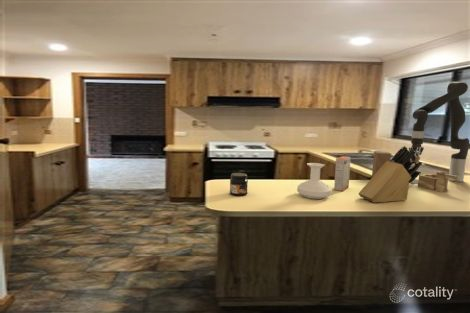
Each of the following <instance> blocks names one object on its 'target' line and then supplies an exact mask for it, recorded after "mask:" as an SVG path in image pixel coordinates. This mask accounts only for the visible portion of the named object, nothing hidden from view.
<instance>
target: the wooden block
mask: <svg viewBox="0 0 470 313" xmlns="http://www.w3.org/2000/svg"><path fill="white" fill-rule="evenodd" d="M391 159H392V153H390V152H389V151H376V150H375V151H374V152H373V161H372V170H371V171H372V172H371V177H373V176H374V175H375V174H376V173H377V172H378V171H379V169H380V168H381V167H382V166H383V165H384V164H385V163H386V162H387V161H389V162H390V160H391Z"/></svg>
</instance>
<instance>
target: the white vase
mask: <svg viewBox="0 0 470 313" xmlns="http://www.w3.org/2000/svg"><path fill="white" fill-rule="evenodd" d="M306 164H307V166H309V168H310V173H309V174H310V175H309V177H310V178H309V179H307V180H306V181H303V182H301V183H300V184H298V185H297V188H296V189H297V190H296V191H297V192H298V194H299V195H301V196H302V197H304V198H308V199H312V200H313V199H314V200H316V199H317V200H319V199H320V200H321V199H326V198H327V197H329V196H331V195H332V192H333V190H332V188H331V187H330V186H329V185H328V184H326V183H325V182H323V181H322V180H321V169H322V168H323V167H325V166H326V164H324V163H318V162H309V163H306Z"/></svg>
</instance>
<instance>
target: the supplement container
mask: <svg viewBox="0 0 470 313" xmlns="http://www.w3.org/2000/svg"><path fill="white" fill-rule="evenodd" d="M229 180H230V181H229V194H230V195H231V196H233V195H234V196H235V197H245V196H247V195H248V174H247V173H243V172H233V173H231V174H230V179H229ZM234 196H233V197H234Z"/></svg>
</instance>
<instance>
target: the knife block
mask: <svg viewBox="0 0 470 313" xmlns="http://www.w3.org/2000/svg"><path fill="white" fill-rule="evenodd" d="M414 154H415V151H411V152H409V149H408V147H407V146H405V145H404V146H402V147H401V148H400V149H398V151H397V152H396V153H395V154H394V155H393V156H392V157H391V160H390V162H389V161H387V162H386V163H385V164H384V165H383V166H382V167H381V168H380V169H379V171H378V172H377V173H376V174H375V175H374V176H371V179H369V181H368V182H367V183H366V184H365V185H364V186H363V187H362V188H361V190H360V191H359V192H358V195H359V197H360V198H363V199H366V200H367V201H370V202H373V203H374V204H375V203H376V204H377V203H386V202H387V203H389V202H397V201H407V199H408V193H409V187H410V184H411V182H412V181H413V180H415V179H417V177H419V175H422V172H421V171H419V168H420V167H421V165H422V163H423V162H421V161H419V163H417V164H416V162H414V161H413V162H411V160H410V159H411V158H412V157H413V156H414ZM413 163H415V166H411V165H412V164H413ZM411 167H412V168H411Z"/></svg>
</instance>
